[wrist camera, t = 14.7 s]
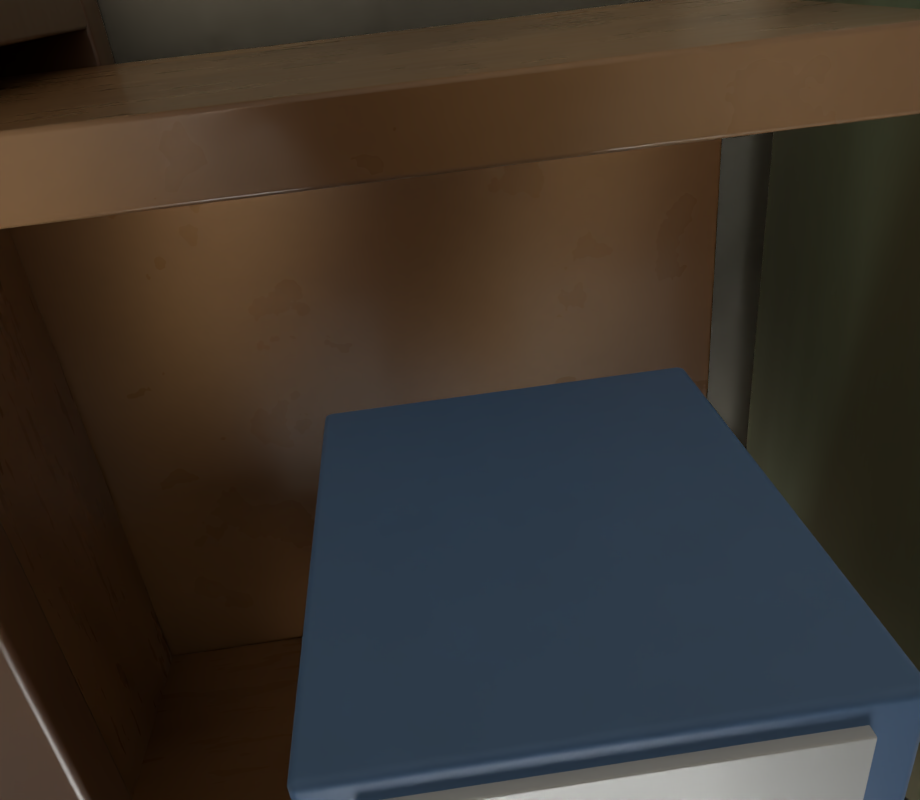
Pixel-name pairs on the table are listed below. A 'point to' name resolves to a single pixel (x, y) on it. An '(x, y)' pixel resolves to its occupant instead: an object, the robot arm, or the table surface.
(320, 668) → the foil box
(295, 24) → the table surface
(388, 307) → the drawer
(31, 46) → the cabinet
